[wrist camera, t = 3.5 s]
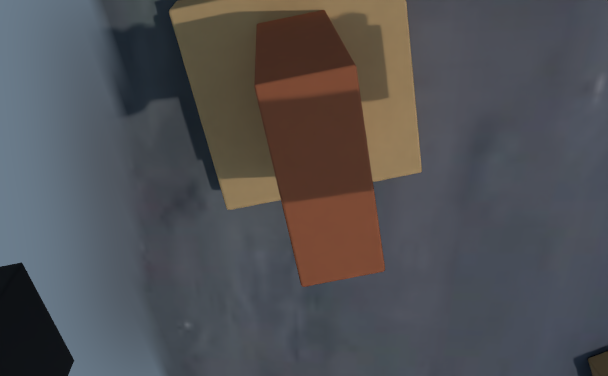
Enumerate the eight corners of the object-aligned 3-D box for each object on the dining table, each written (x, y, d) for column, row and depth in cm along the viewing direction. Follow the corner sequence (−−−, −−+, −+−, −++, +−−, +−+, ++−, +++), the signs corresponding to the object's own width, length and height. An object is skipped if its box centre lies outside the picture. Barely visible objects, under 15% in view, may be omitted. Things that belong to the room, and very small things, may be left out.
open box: (229, 190, 24) (213, 332, 16) (175, 1, 20) (119, 67, 12) (411, 154, 23) (485, 281, 16) (391, -44, 20) (476, -6, 12)
